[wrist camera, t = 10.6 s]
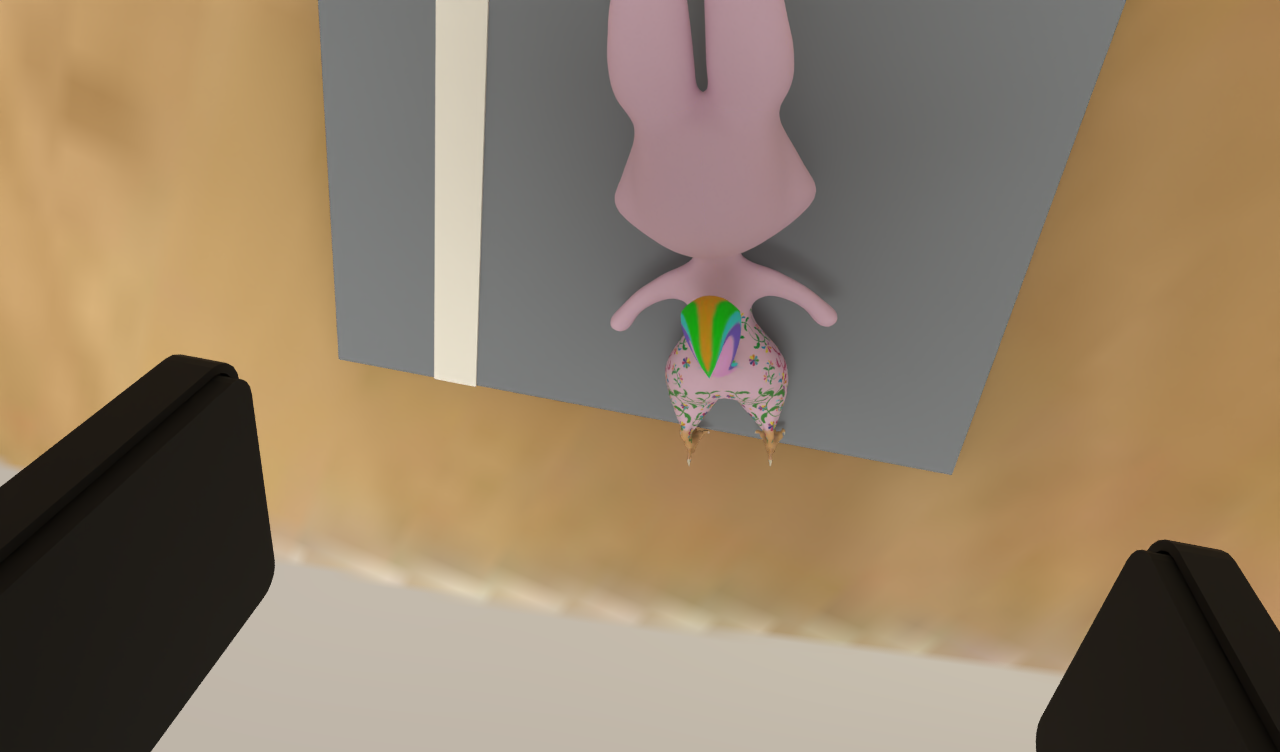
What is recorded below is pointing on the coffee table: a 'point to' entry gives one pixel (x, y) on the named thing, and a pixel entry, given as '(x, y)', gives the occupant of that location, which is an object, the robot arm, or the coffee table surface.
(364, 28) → the mat
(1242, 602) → the robot arm
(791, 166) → the rabbit figure
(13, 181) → the coffee table surface
